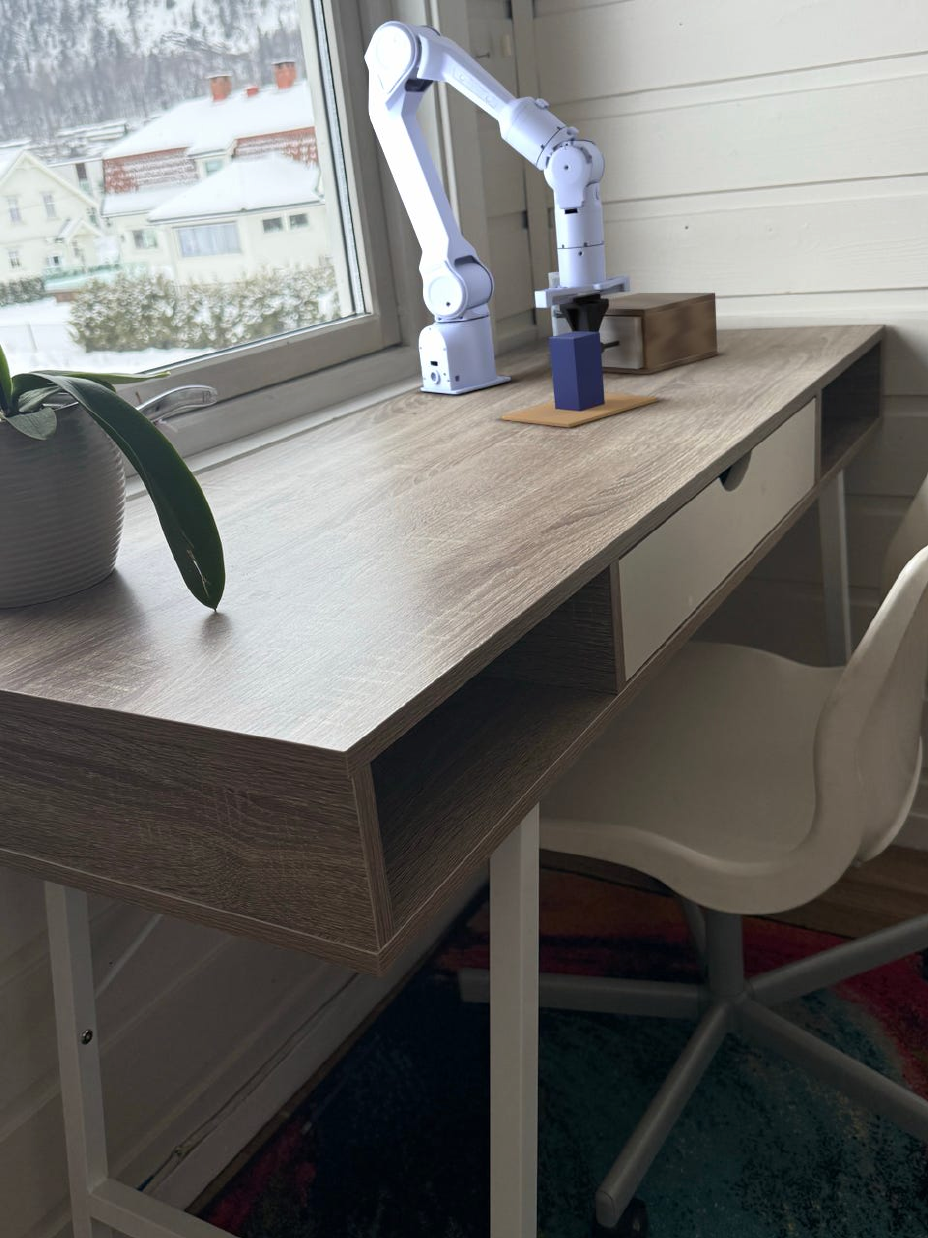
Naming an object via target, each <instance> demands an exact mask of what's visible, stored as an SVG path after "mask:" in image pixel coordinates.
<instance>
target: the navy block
mask: <svg viewBox="0 0 928 1238" xmlns="http://www.w3.org/2000/svg"><path fill="white" fill-rule="evenodd" d="M548 344H549V354H550V355H549V356H550V365H551V377H552V387H553V388H552V389H553V398H554V401H555V409H561V410H570V411H583V410H587V409H590V408H594V407H597V406H600V405H604V404H605V397H604V393H605V384H604V371H603V370H602V356H601V342H600V332H581V331H574V332H570V333H565V334H561V335H557V336H553V335H552V336H549V337H548Z"/></svg>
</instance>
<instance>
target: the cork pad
mask: <svg viewBox="0 0 928 1238" xmlns="http://www.w3.org/2000/svg"><path fill="white" fill-rule="evenodd" d="M604 397H605V404H604V405H600V406H597V407H594V408H590V409H587V410H583V411H570V410H561V409H555V400H554V401H550V402H545V403H543V404H539V405H536V406H532V407H528V408H526V409H522V410H518V411H514V412H511V413H507V414H504V415H501V420H503V421H513V422H519V423H529V424H535V425H544V426H551V427H554V426H555V427H559V428H560V427H561V428H569V429H570V428H573V427H577V426H579V425H583V424H586V423H589V422H592V421H596V420H599V419H602V418H606V417H609V416H612V415H616V414H618V413H622V412H625V411H628V410H632V409H636V408H639V407H642V406H646V405H650V404H652V403H655V402H659V397H658V396H646V395H633V394H625V393H624V394H623V393H613V392H612V393H611V392H604Z"/></svg>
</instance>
